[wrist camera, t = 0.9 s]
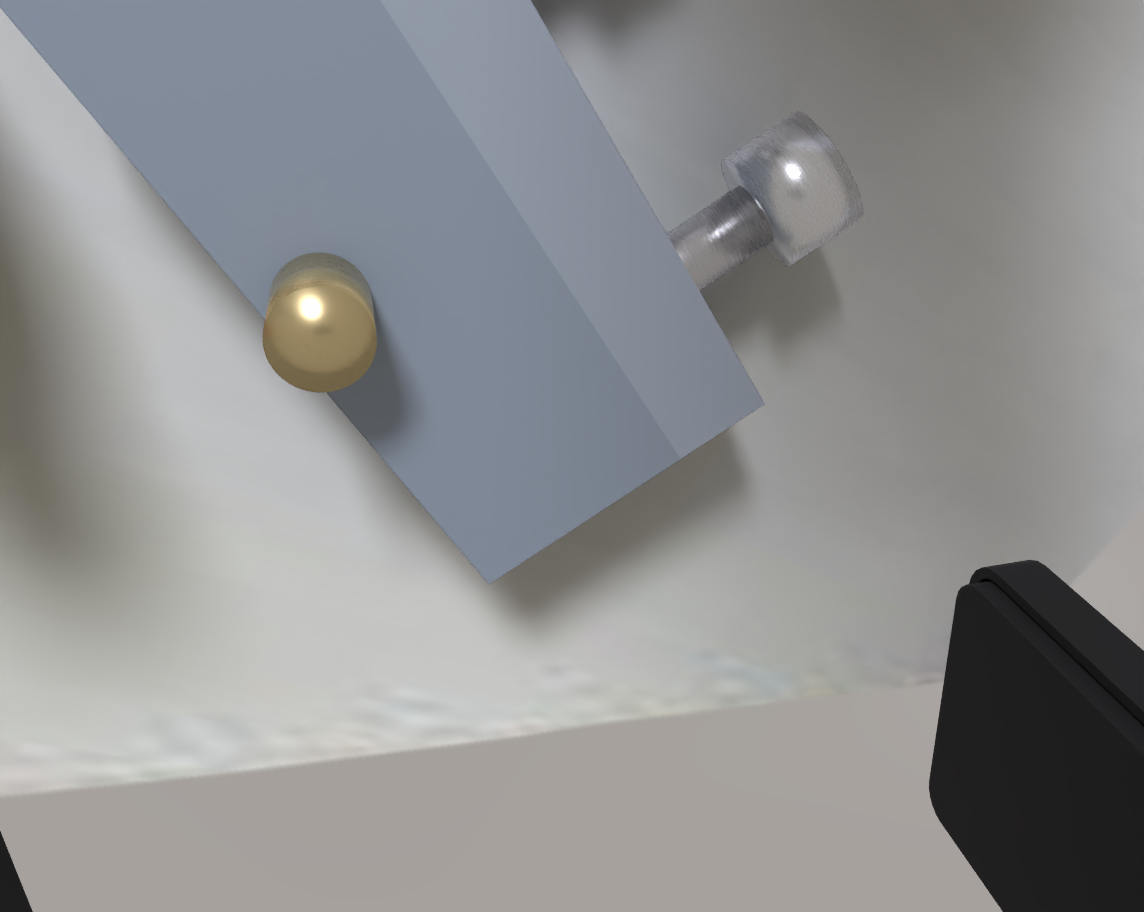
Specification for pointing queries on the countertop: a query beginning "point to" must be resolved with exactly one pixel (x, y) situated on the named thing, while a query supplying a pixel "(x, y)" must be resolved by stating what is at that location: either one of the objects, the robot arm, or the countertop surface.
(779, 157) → the knob aluminium
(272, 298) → the brass dial
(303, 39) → the control box
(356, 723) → the countertop surface
